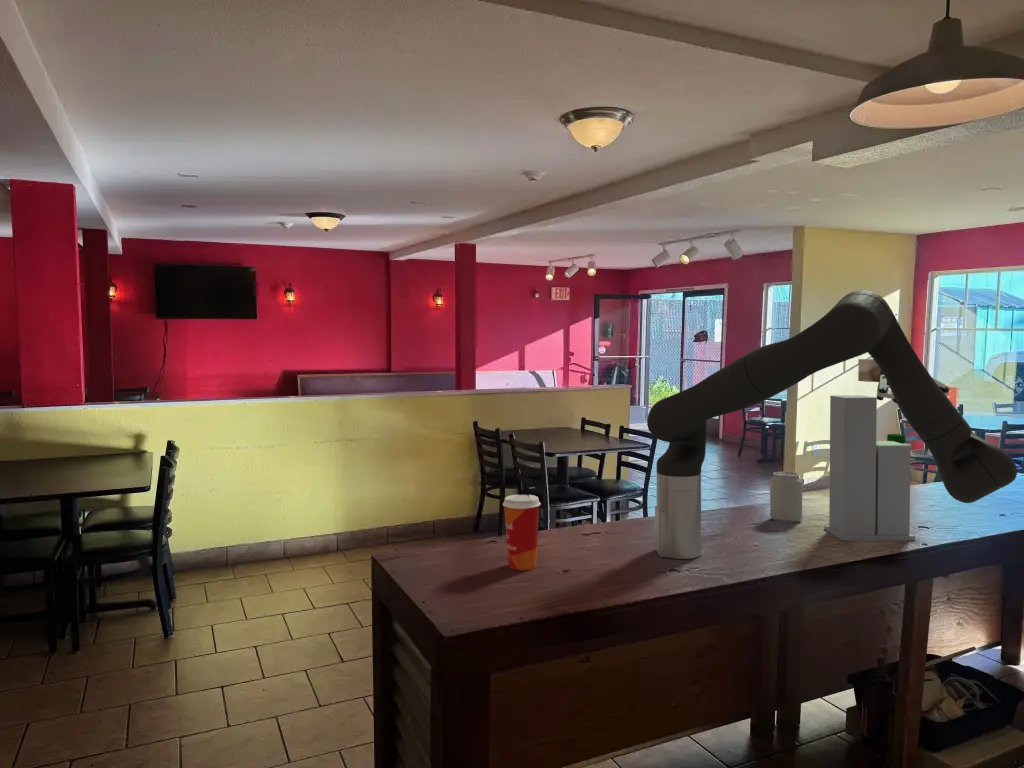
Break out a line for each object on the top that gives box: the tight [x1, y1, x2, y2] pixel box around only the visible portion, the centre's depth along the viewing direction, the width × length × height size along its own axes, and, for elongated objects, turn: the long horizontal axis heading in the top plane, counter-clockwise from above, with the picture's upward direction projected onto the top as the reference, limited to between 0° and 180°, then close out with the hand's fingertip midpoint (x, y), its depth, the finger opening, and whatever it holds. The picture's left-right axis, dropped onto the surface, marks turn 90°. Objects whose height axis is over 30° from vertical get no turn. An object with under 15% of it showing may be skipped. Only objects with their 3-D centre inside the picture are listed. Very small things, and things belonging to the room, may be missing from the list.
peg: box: [857, 358, 881, 383], centre depth 147 cm, size 5×16×5 cm, turn 177°
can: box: [769, 471, 803, 524], centre depth 178 cm, size 8×8×12 cm
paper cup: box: [502, 494, 542, 571], centre depth 143 cm, size 8×8×14 cm
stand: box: [824, 394, 916, 542], centre depth 162 cm, size 16×10×32 cm, turn 87°
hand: (892, 368), depth 145 cm, fingers closed on peg, 3 cm apart
